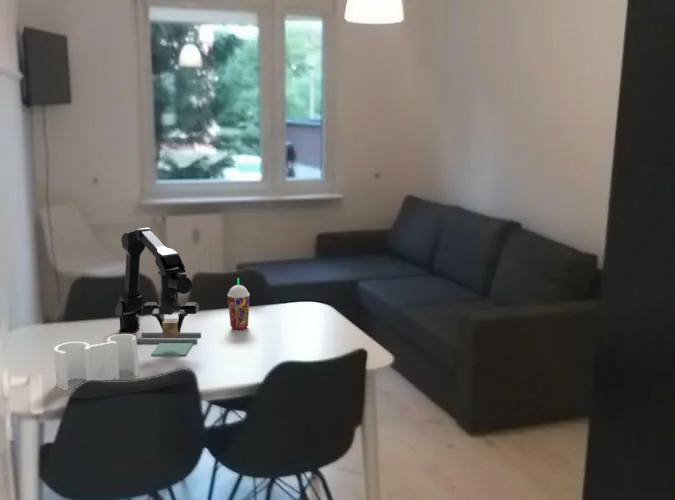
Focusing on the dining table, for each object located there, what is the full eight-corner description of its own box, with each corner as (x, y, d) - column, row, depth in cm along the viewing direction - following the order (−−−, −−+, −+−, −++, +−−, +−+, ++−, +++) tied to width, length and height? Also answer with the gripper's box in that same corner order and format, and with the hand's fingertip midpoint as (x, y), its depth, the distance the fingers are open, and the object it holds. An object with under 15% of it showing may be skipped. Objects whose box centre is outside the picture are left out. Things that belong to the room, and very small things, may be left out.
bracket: (131, 366, 246) (129, 331, 244) (141, 375, 238) (139, 339, 236) (53, 382, 232) (50, 345, 230) (61, 392, 224) (58, 353, 222)
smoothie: (248, 331, 283) (247, 280, 279) (226, 331, 283) (225, 280, 280) (251, 325, 291) (250, 275, 288) (230, 325, 292) (229, 275, 288)
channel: (136, 343, 270) (135, 339, 270) (142, 336, 278) (142, 332, 278) (196, 343, 270) (196, 339, 269) (201, 336, 278) (200, 332, 278)
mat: (151, 355, 256) (151, 354, 256) (159, 344, 268) (159, 343, 268) (185, 356, 256) (185, 354, 256) (192, 344, 268) (192, 343, 268)
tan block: (162, 336, 259) (162, 322, 258) (166, 332, 263) (165, 318, 262) (177, 336, 259) (176, 322, 258) (180, 332, 263) (179, 318, 262)
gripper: (136, 294, 250) (138, 338, 253) (191, 294, 250) (193, 338, 253) (145, 286, 261) (147, 328, 264) (198, 286, 261) (199, 329, 264)
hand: (171, 331), depth 261 cm, fingers closed on tan block, 5 cm apart
